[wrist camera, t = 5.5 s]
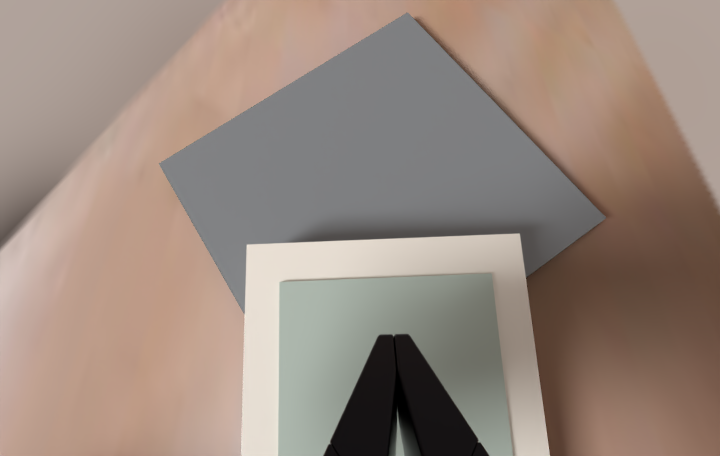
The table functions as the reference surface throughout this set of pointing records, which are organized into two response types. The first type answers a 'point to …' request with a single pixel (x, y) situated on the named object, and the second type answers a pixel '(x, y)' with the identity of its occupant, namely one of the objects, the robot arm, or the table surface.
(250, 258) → the picture frame
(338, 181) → the mat
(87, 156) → the table surface
